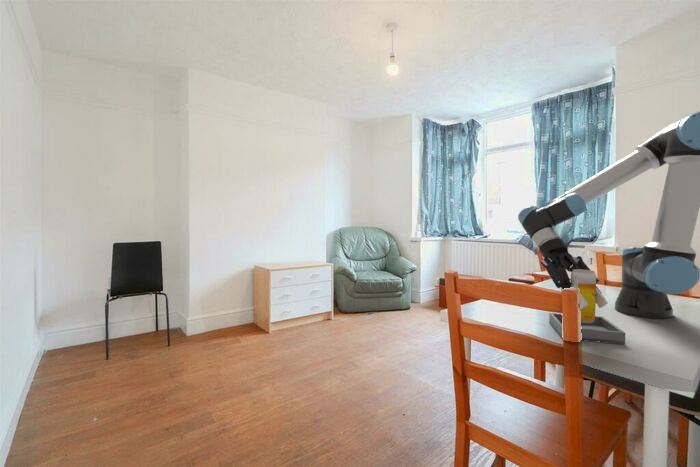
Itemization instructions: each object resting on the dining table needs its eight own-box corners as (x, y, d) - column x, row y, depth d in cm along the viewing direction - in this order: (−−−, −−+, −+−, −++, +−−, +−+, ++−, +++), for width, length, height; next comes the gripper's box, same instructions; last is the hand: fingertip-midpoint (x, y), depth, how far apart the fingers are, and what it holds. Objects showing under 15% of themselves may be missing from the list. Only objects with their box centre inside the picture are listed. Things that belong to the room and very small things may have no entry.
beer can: (600, 323, 93) (601, 272, 92) (582, 324, 92) (583, 273, 91) (582, 316, 99) (583, 268, 98) (564, 318, 98) (565, 269, 97)
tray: (602, 326, 100) (603, 316, 100) (625, 344, 86) (625, 333, 86) (549, 322, 105) (549, 312, 105) (562, 338, 91) (562, 327, 91)
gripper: (567, 250, 111) (612, 310, 96) (518, 252, 108) (557, 315, 93) (581, 236, 106) (631, 297, 91) (530, 237, 102) (574, 301, 87)
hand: (594, 306), depth 92 cm, fingers closed on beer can, 6 cm apart
